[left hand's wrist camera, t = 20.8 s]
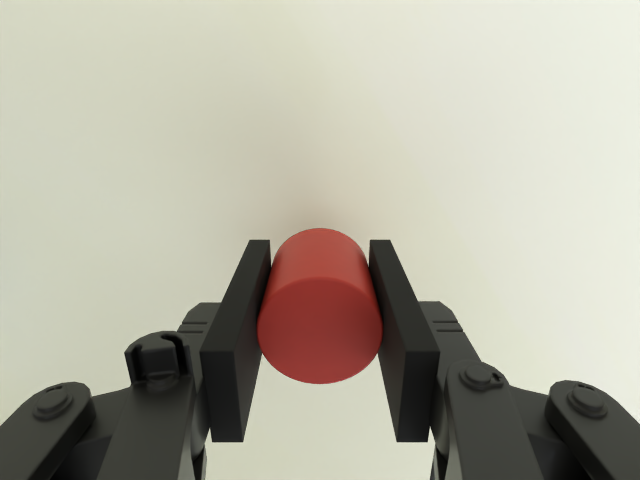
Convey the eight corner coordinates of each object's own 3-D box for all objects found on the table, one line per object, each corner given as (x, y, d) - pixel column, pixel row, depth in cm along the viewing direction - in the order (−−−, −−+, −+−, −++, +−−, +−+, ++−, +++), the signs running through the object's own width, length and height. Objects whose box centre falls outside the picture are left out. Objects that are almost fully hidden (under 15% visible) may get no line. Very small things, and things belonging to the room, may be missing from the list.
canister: (288, 322, 16) (278, 396, 12) (258, 242, 15) (237, 296, 11) (377, 301, 16) (395, 370, 12) (354, 216, 14) (367, 263, 10)
